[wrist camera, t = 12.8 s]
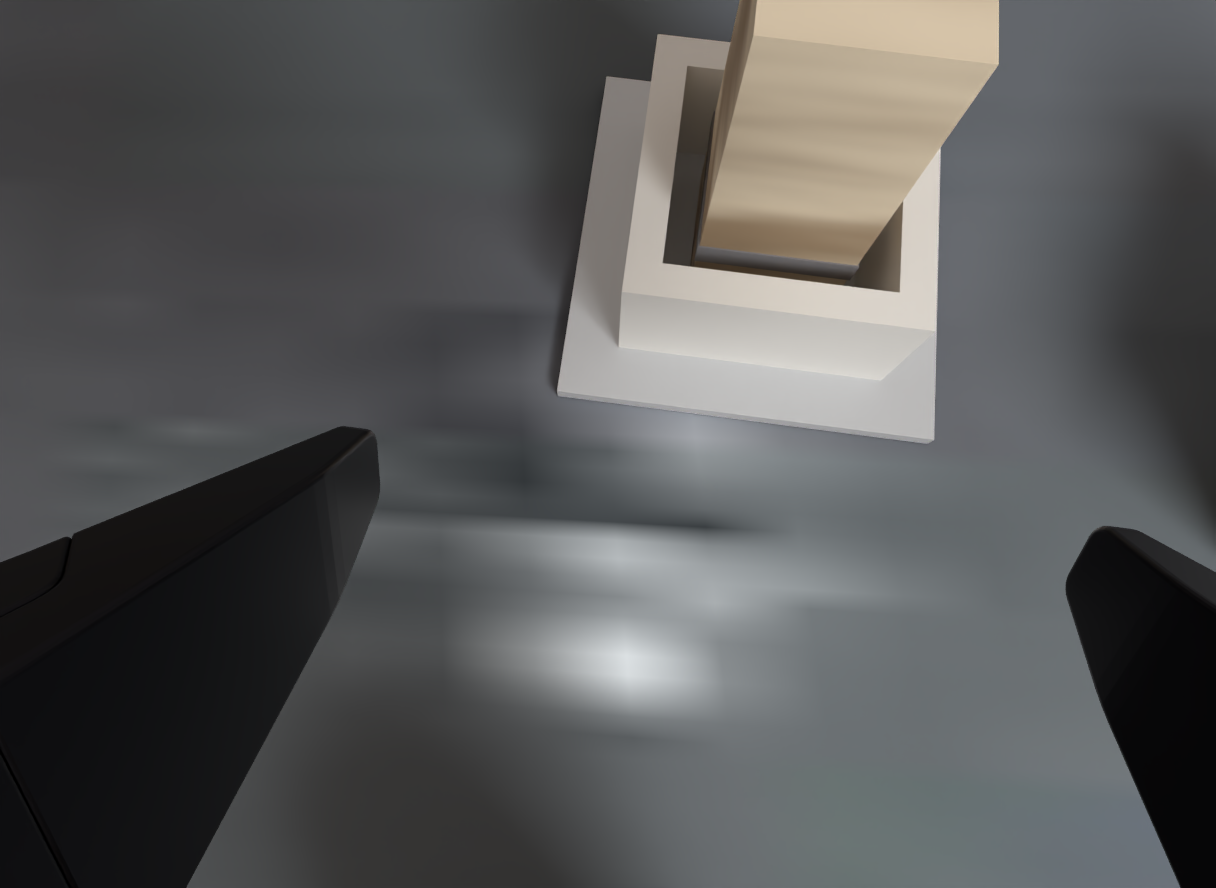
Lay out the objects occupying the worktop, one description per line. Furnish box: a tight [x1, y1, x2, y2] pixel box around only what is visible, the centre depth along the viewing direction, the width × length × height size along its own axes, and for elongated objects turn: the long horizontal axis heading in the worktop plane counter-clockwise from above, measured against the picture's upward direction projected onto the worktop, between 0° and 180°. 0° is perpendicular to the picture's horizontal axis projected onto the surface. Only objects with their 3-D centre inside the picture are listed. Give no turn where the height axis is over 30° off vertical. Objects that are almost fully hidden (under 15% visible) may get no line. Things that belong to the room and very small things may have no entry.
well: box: [557, 34, 941, 444], centre depth 23 cm, size 12×12×4 cm
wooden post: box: [690, 0, 999, 286], centre depth 19 cm, size 5×5×11 cm
